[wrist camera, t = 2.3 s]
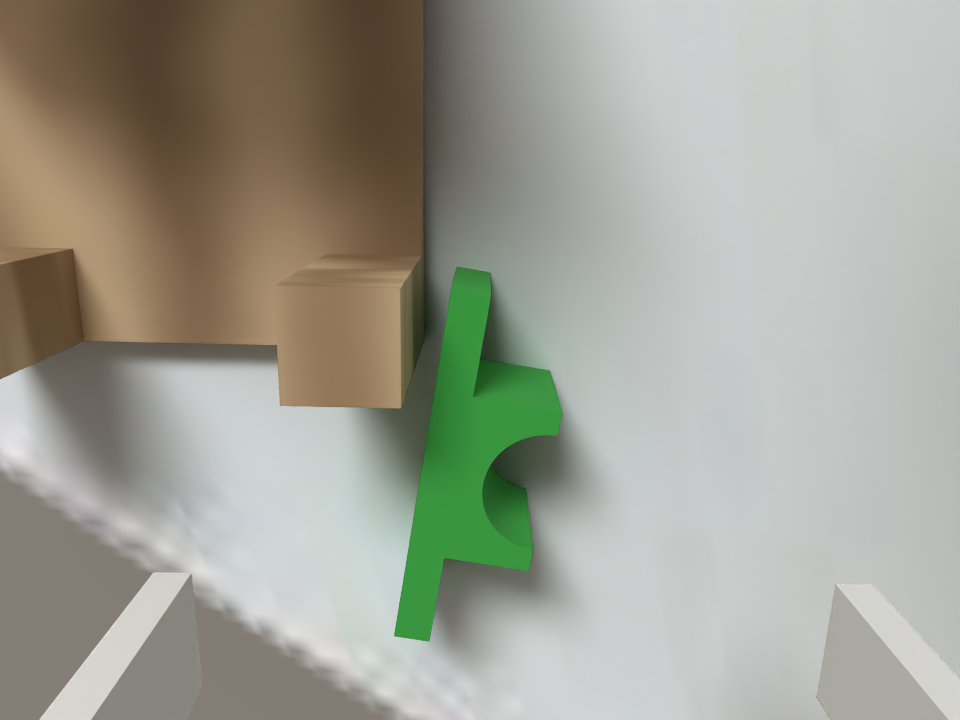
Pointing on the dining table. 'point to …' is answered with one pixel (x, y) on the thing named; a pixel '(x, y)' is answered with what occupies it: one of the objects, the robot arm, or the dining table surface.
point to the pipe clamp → (471, 458)
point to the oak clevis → (217, 184)
